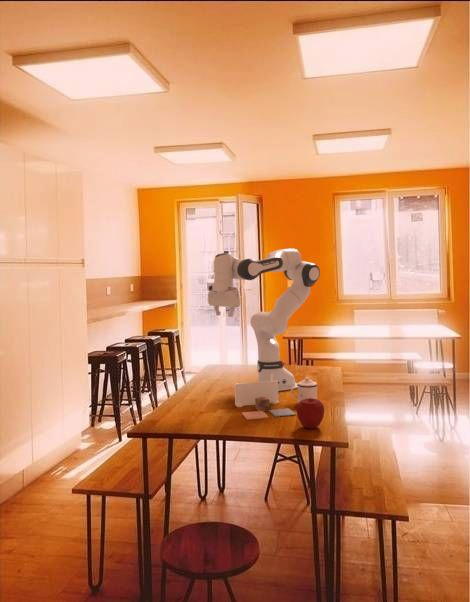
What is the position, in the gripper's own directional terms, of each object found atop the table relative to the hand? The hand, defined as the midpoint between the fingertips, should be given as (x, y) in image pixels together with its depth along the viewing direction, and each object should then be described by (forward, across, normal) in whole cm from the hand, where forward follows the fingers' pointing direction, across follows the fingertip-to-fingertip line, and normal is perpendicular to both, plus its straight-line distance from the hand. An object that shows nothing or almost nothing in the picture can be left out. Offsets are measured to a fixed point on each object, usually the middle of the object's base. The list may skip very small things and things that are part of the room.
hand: (224, 316), depth 246 cm
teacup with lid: (+40, -33, -18) cm, 55 cm away
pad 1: (+39, -33, +12) cm, 53 cm away
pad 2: (+39, -38, +1) cm, 55 cm away
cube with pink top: (+40, -28, +2) cm, 48 cm away
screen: (+39, -20, -2) cm, 44 cm away
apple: (+40, -60, +7) cm, 72 cm away
